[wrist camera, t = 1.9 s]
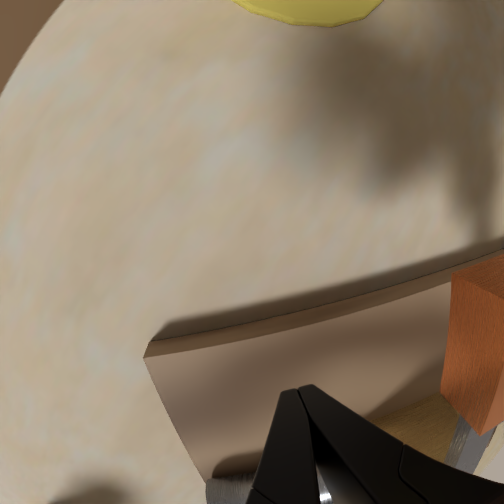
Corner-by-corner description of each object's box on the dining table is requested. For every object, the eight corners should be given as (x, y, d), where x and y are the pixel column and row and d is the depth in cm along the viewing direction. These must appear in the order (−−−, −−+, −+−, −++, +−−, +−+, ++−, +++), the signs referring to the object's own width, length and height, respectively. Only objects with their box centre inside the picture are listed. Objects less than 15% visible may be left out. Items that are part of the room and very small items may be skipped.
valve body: (502, 392, 18) (544, 431, 12) (223, 494, 17) (228, 568, 11) (516, 341, 16) (569, 378, 10) (200, 452, 15) (199, 541, 9)
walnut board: (480, 438, 20) (488, 446, 19) (239, 524, 19) (241, 537, 18) (523, 240, 15) (538, 245, 14) (149, 341, 14) (142, 357, 13)
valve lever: (442, 492, 11) (461, 521, 9) (403, 512, 11) (420, 543, 9) (505, 252, 8) (564, 276, 5) (451, 272, 7) (515, 306, 5)
